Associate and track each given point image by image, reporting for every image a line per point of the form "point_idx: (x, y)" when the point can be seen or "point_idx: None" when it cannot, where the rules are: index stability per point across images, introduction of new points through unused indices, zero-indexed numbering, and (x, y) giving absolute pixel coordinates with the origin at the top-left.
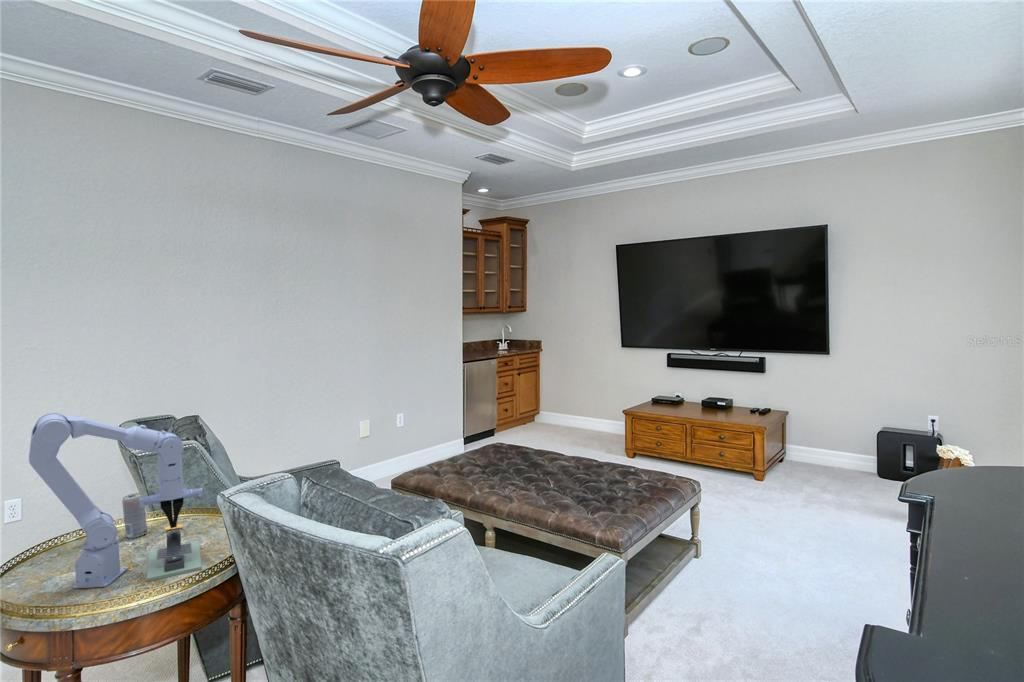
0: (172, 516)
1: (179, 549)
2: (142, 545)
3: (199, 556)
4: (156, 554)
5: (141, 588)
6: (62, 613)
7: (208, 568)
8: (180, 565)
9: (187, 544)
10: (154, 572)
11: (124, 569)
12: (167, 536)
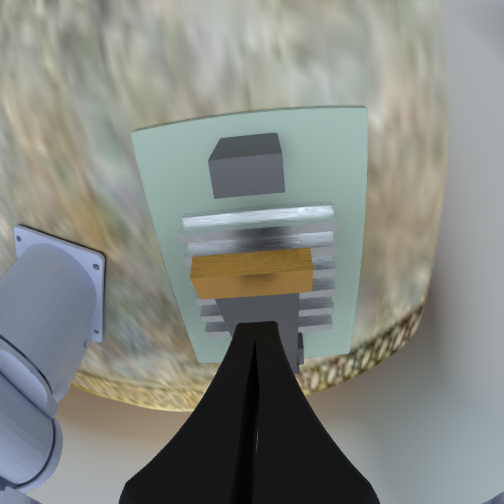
0: (250, 386)
1: (291, 358)
2: (83, 20)
3: (355, 287)
4: (173, 192)
5: (197, 375)
6: (83, 387)
7: (365, 344)
8: None
9: (320, 230)
10: (211, 341)
11: (99, 274)
12: (226, 317)
